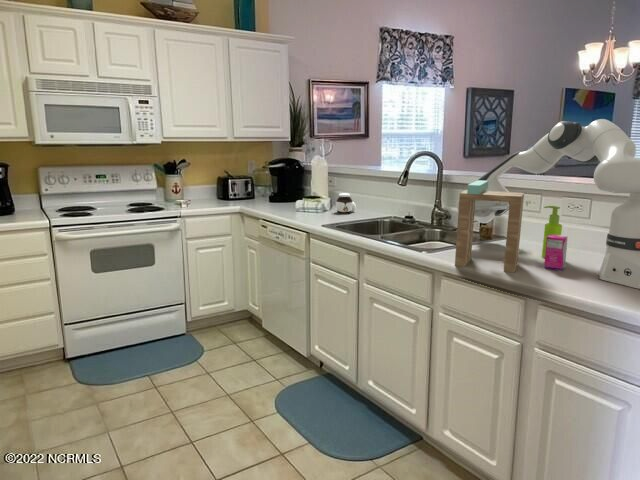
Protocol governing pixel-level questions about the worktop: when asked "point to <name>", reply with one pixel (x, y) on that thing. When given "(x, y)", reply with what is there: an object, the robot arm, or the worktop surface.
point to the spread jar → (345, 204)
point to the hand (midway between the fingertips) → (481, 199)
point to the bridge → (468, 222)
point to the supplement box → (555, 252)
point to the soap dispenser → (551, 227)
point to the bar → (477, 187)
